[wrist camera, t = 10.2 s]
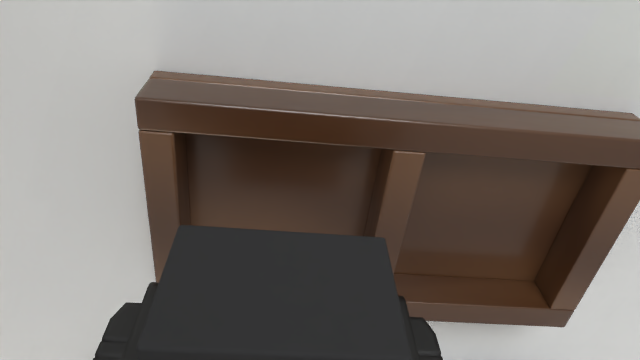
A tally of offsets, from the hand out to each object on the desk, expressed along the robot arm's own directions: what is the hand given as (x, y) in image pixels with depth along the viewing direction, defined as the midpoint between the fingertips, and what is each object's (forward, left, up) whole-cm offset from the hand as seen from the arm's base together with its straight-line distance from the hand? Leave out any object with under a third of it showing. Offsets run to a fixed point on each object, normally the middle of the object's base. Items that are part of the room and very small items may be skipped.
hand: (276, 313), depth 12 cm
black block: (0, 0, 0) cm, 0 cm away
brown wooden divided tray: (+3, +2, -6) cm, 7 cm away
